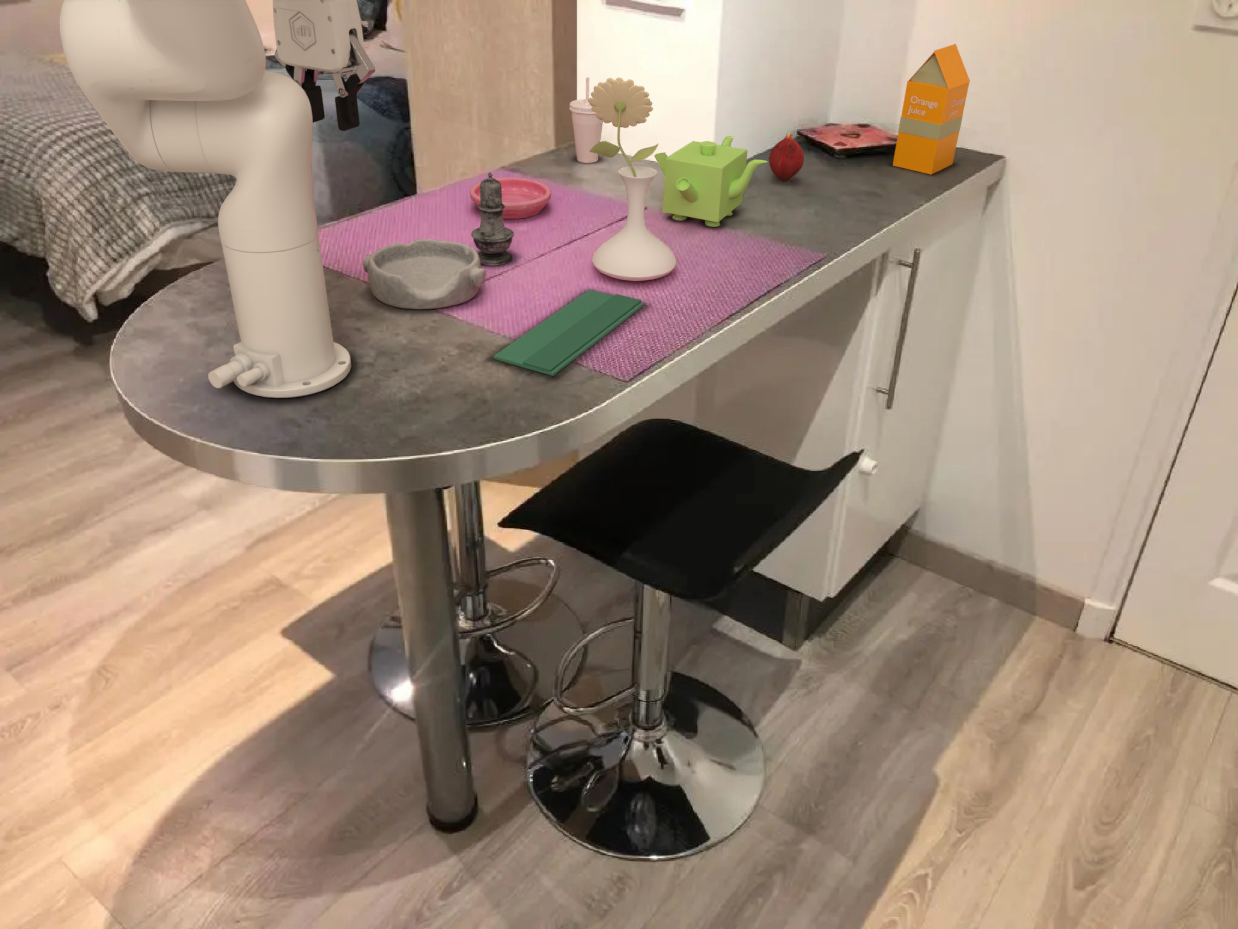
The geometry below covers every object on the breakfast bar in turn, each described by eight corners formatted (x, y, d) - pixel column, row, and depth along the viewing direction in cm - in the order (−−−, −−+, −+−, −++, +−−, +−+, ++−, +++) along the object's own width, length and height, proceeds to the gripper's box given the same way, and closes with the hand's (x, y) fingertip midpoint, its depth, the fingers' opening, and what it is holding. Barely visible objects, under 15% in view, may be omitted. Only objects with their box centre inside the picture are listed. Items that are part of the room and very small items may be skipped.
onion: (803, 187, 171) (809, 138, 167) (768, 185, 171) (774, 137, 167) (798, 176, 176) (804, 129, 172) (765, 175, 176) (770, 128, 171)
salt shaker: (507, 268, 138) (504, 180, 132) (466, 263, 139) (461, 176, 132) (519, 252, 143) (517, 167, 136) (479, 248, 144) (475, 163, 137)
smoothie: (566, 163, 178) (565, 80, 171) (573, 153, 184) (573, 71, 176) (601, 166, 178) (603, 82, 170) (608, 155, 183) (610, 74, 175)
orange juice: (891, 165, 183) (912, 47, 172) (914, 155, 189) (935, 40, 178) (932, 174, 179) (955, 54, 168) (953, 164, 184) (978, 46, 173)
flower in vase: (689, 266, 140) (702, 77, 127) (652, 295, 132) (662, 96, 118) (606, 248, 145) (610, 64, 132) (565, 274, 137) (565, 81, 123)
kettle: (726, 196, 166) (732, 126, 160) (767, 226, 155) (776, 152, 149) (641, 204, 161) (644, 133, 155) (677, 236, 150) (682, 160, 144)
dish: (500, 299, 129) (498, 262, 127) (398, 324, 123) (394, 285, 120) (449, 262, 139) (446, 227, 137) (352, 283, 133) (348, 246, 130)
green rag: (553, 376, 113) (553, 370, 112) (493, 358, 116) (493, 353, 116) (643, 305, 129) (644, 300, 129) (589, 292, 132) (589, 287, 132)
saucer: (561, 200, 162) (561, 181, 160) (536, 227, 152) (536, 206, 150) (487, 192, 164) (486, 173, 162) (458, 217, 154) (457, 197, 152)
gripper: (231, -43, 116) (258, 121, 126) (347, -29, 109) (365, 143, 119) (279, -49, 121) (301, 108, 131) (392, -36, 115) (406, 128, 125)
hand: (331, 123), depth 125 cm, fingers open, 4 cm apart
